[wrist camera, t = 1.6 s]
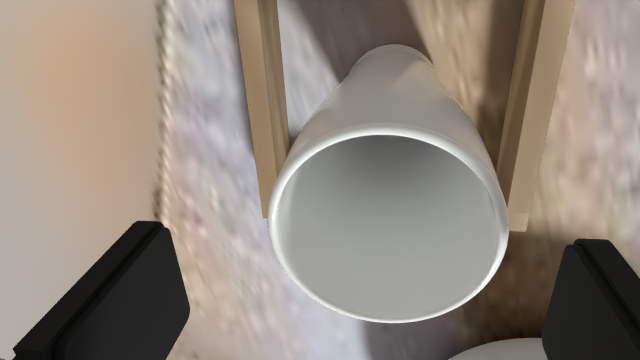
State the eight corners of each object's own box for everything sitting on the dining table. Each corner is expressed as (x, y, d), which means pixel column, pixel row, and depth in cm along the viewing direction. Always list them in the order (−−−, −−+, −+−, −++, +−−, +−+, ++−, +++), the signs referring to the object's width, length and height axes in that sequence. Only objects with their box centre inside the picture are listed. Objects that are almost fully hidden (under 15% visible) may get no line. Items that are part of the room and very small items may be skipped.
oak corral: (555, -33, 20) (582, -32, 17) (511, 200, 26) (525, 231, 23) (253, -18, 23) (231, -14, 20) (277, 190, 29) (263, 218, 26)
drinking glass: (472, 106, 24) (557, 281, 11) (373, 160, 27) (346, 352, 14) (414, 2, 22) (434, 65, 9) (312, 71, 25) (215, 198, 12)
